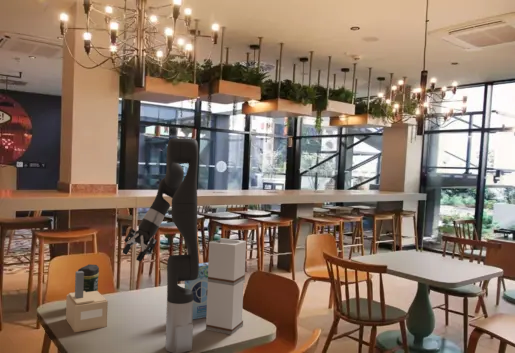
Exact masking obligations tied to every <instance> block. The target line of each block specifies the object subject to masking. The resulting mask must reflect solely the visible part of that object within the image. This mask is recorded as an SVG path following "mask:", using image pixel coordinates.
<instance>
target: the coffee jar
mask: <svg viewBox="0 0 515 353" xmlns="http://www.w3.org/2000/svg"><path fill="white" fill-rule="evenodd" d="M77 271H83V272H84V288H83V291H85V292H91V291H98V292H99V276H100V267H99V266H98V265H97V264H90V263H89V264H87V265H84V266H82V267H81V268H80V267H79V269H77Z"/></svg>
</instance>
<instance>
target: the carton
mask: <svg viewBox="0 0 515 353" xmlns="http://www.w3.org/2000/svg"><path fill="white" fill-rule="evenodd" d="M86 293H87V294H88V295H89V296H90V297H91V298H92V299H93V300H94V302H90V303H83V304H76V303H75V302H74V300H73V299H72V298H71V297H70V295H69V294H66V306H65V307H66V308H65V320H66V321H67V323H68V324H69V326H70V328H71V330H72V331H73V333H78V332H80V333H81V332H84V331H89V330H95V329H100V328H106V327H107V326H108V304H109V303H108V302H109V301H108V300H107V299H106V298H105V297H104V296H103V295H102V294H101V293H100V292H99V290H98V291H91V292H86Z"/></svg>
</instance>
